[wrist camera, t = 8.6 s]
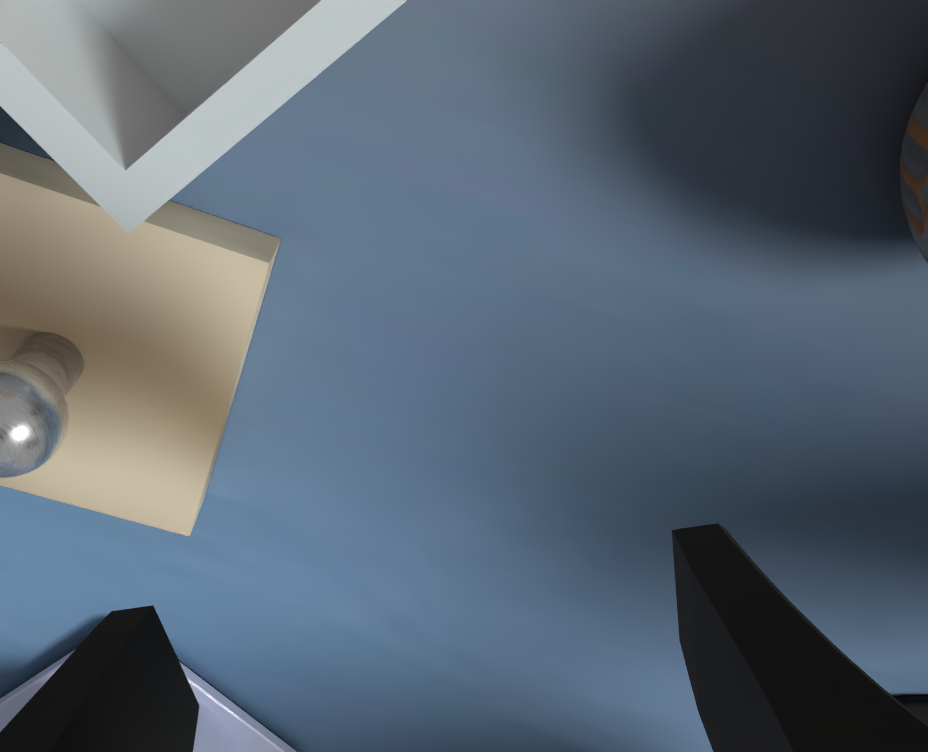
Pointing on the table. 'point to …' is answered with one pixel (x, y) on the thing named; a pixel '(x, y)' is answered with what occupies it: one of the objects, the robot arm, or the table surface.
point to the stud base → (118, 345)
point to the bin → (161, 82)
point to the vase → (916, 173)
